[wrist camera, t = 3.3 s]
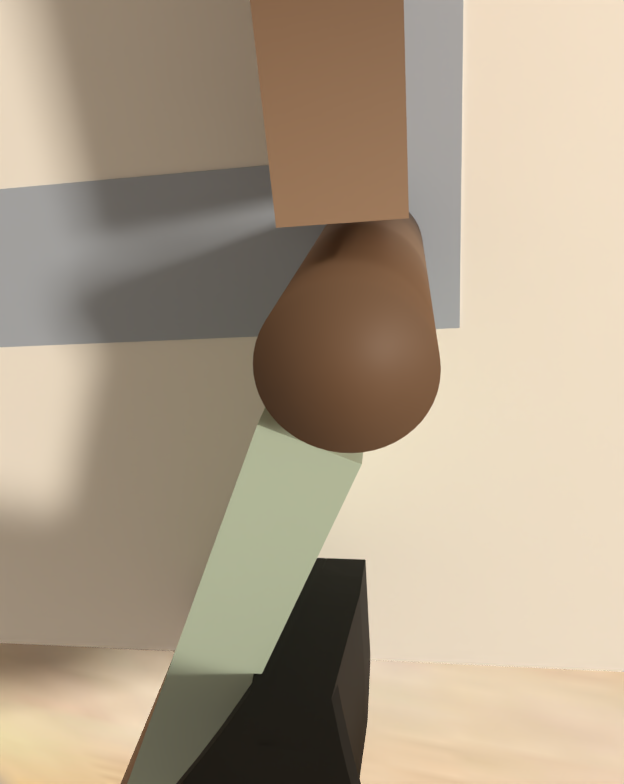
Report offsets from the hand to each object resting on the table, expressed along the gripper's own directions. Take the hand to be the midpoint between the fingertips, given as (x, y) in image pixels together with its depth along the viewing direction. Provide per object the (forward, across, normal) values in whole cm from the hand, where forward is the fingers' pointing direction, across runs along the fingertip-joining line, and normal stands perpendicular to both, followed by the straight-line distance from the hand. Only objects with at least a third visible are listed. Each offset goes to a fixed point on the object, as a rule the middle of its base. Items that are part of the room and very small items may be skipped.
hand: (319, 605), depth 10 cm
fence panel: (+1, +1, -1) cm, 2 cm away
